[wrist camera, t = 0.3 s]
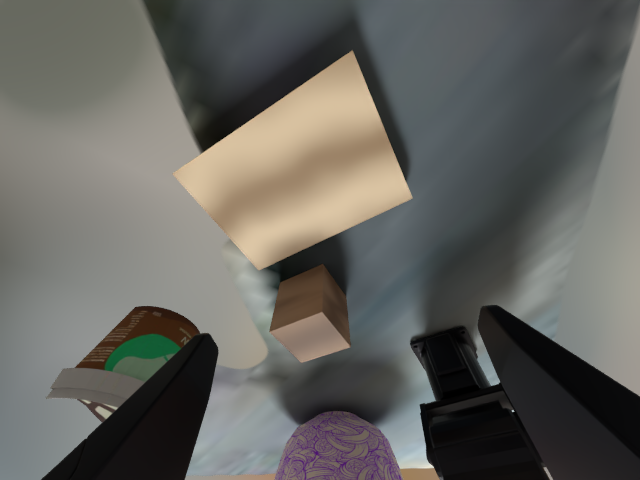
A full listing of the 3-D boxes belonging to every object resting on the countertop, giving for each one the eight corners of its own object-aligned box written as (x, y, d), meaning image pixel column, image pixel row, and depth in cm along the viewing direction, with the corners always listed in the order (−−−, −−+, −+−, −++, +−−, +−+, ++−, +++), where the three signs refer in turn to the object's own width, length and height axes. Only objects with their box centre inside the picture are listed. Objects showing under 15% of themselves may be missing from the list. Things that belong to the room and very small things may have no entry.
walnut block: (346, 296, 27) (350, 347, 22) (305, 311, 28) (301, 362, 23) (322, 263, 25) (322, 311, 20) (280, 282, 26) (269, 331, 21)
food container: (228, 355, 33) (195, 451, 25) (186, 362, 34) (141, 456, 26) (176, 287, 27) (108, 385, 18) (126, 297, 28) (39, 395, 19)
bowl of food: (423, 412, 40) (454, 519, 31) (354, 453, 50) (362, 544, 40) (311, 377, 36) (306, 491, 26) (259, 430, 45) (241, 528, 36)
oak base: (405, 188, 20) (412, 198, 19) (263, 256, 24) (258, 270, 23) (349, 53, 16) (352, 50, 14) (185, 165, 20) (172, 173, 18)
